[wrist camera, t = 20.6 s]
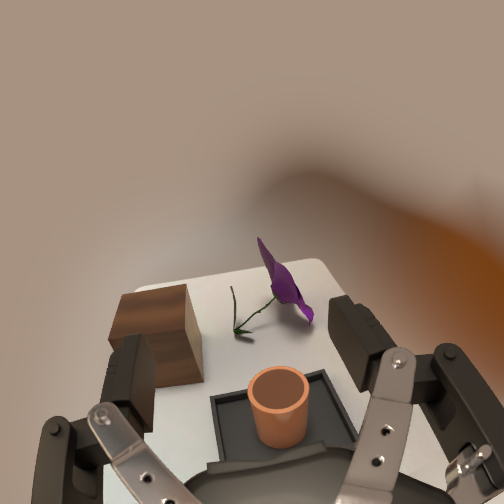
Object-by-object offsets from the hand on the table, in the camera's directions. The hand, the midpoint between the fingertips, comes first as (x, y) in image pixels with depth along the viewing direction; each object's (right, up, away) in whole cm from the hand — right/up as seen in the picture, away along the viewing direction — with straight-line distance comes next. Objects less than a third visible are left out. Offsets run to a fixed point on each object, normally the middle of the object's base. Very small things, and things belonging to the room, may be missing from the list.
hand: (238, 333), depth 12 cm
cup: (+4, -19, +21) cm, 28 cm away
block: (-13, -15, +34) cm, 39 cm away
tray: (+4, -19, +21) cm, 29 cm away
